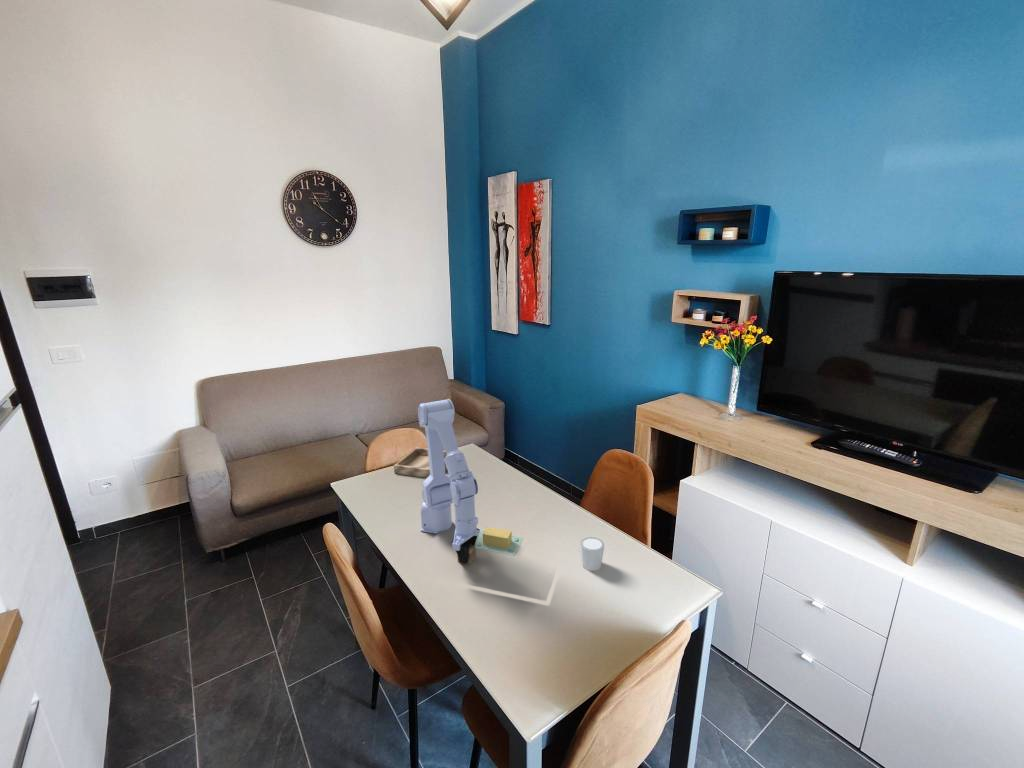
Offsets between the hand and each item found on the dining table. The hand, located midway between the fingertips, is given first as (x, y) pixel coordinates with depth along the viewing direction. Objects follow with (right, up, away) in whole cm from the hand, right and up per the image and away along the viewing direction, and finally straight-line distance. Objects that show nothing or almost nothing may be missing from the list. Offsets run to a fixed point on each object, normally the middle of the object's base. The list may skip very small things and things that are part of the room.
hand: (466, 557), depth 138 cm
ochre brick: (+9, +2, +8) cm, 12 cm away
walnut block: (0, -1, 0) cm, 1 cm away
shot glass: (+36, -2, -1) cm, 36 cm away
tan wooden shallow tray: (-23, +16, +62) cm, 68 cm away
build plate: (+9, +1, +8) cm, 12 cm away
